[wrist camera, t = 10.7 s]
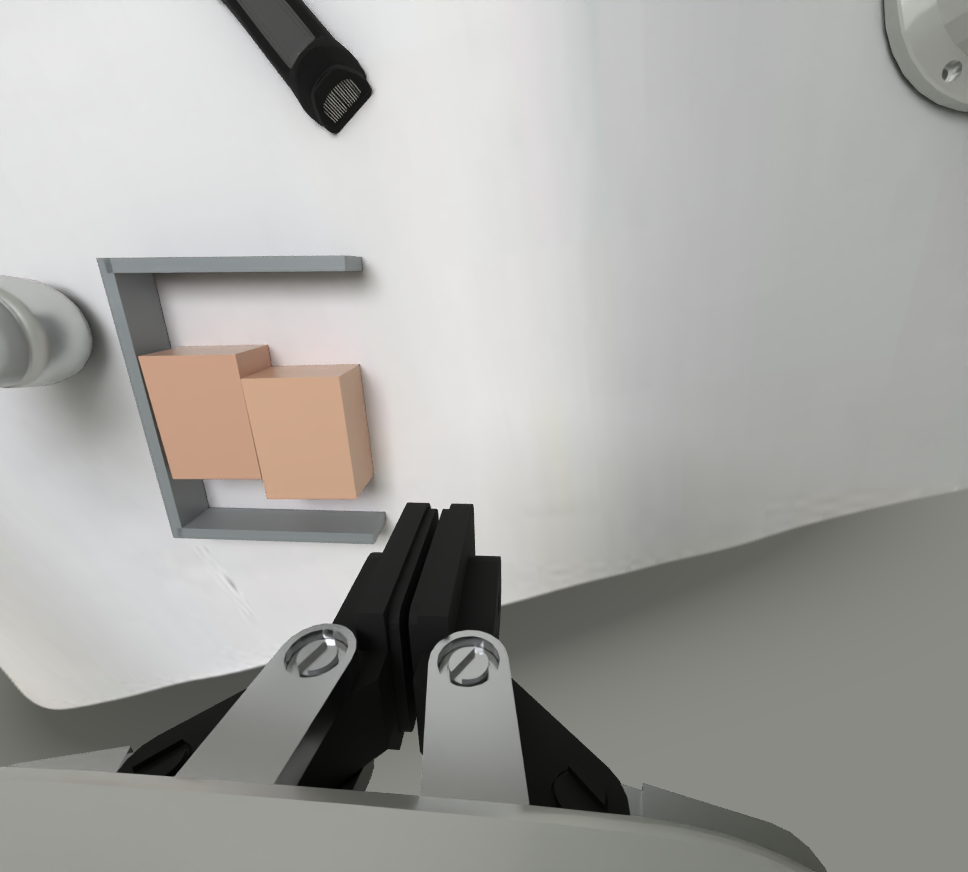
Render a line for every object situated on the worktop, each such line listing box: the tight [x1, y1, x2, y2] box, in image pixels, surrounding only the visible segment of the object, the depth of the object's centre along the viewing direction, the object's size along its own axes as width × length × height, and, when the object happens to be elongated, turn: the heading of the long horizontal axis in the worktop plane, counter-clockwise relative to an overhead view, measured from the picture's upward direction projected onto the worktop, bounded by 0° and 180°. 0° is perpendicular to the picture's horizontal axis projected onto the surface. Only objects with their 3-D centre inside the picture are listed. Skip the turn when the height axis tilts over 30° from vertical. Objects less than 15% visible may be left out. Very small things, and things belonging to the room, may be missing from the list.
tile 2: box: [241, 364, 374, 499], centre depth 30 cm, size 6×8×4 cm
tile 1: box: [138, 345, 272, 479], centre depth 30 cm, size 6×8×4 cm
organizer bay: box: [96, 256, 386, 544], centre depth 30 cm, size 14×18×3 cm
